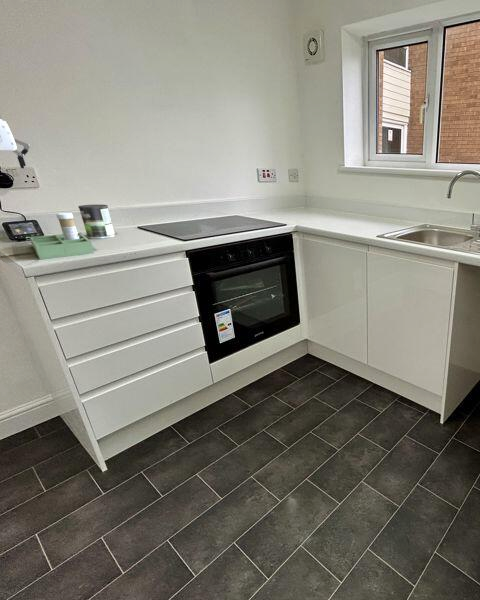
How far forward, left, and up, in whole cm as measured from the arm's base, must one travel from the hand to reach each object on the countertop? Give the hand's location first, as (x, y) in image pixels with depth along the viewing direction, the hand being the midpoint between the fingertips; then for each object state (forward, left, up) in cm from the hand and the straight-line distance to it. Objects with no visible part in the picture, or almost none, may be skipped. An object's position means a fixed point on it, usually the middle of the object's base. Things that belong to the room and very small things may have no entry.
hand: (3, 168), depth 127 cm
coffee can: (+24, +14, -31) cm, 41 cm away
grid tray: (+8, -9, -30) cm, 33 cm away
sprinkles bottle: (+12, -9, -30) cm, 33 cm away
